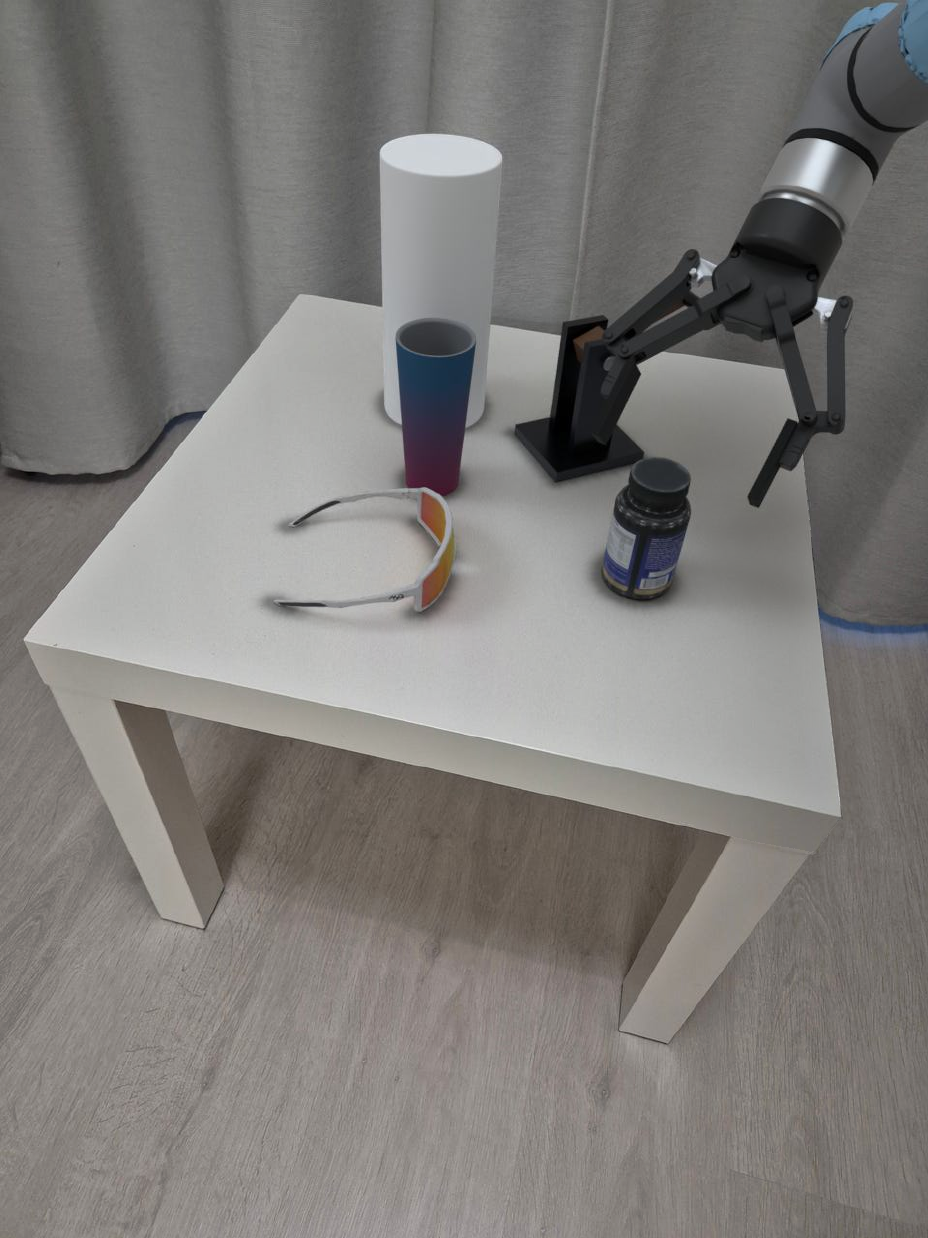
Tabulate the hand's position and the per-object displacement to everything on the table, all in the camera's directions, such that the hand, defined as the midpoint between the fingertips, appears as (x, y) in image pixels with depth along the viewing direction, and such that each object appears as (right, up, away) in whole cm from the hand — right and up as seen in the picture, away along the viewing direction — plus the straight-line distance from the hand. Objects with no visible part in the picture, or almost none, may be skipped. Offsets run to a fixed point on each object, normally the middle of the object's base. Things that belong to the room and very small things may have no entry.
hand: (672, 470), depth 70 cm
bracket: (-5, +6, +20) cm, 21 cm away
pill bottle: (-2, -8, +6) cm, 11 cm away
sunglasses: (-25, -7, +6) cm, 26 cm away
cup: (-20, +1, +15) cm, 25 cm away
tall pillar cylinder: (-20, +11, +24) cm, 33 cm away
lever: (0, +15, +13) cm, 20 cm away
